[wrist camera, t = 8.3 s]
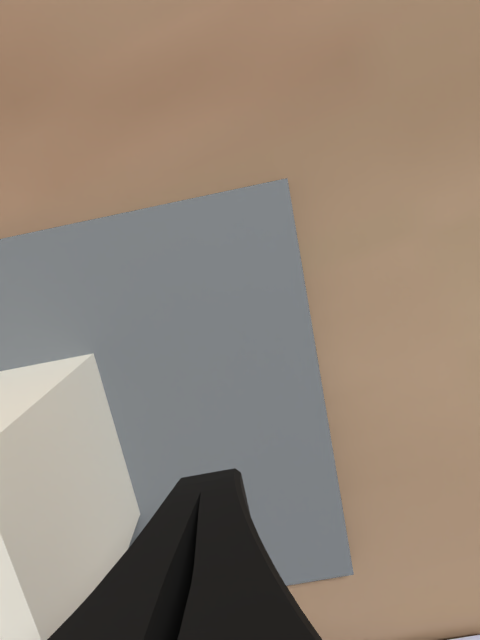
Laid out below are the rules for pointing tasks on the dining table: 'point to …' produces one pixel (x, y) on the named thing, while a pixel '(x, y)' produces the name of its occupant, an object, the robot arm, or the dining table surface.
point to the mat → (194, 355)
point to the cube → (58, 494)
